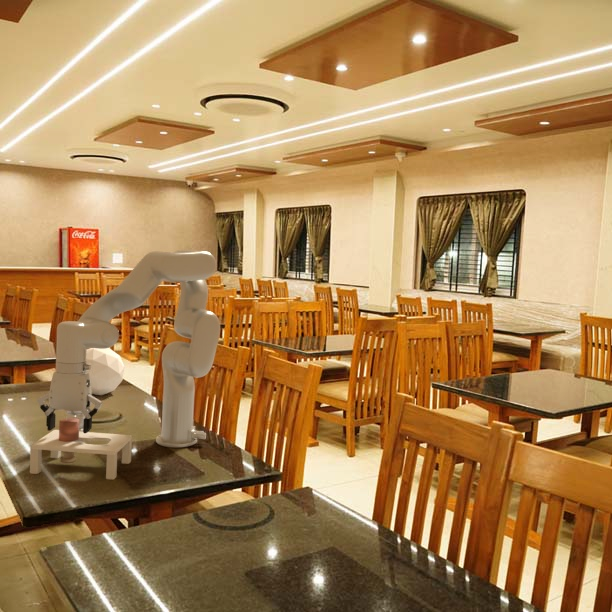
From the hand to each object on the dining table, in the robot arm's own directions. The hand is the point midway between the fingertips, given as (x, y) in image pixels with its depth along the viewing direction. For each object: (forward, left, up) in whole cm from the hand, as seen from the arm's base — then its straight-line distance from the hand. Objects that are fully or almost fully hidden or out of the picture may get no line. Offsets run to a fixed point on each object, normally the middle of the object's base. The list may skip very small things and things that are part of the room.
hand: (68, 430), depth 163 cm
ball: (+22, -80, -10) cm, 84 cm away
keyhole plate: (-4, 0, -10) cm, 11 cm away
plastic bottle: (+6, -19, -10) cm, 22 cm away
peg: (0, 0, -8) cm, 8 cm away
